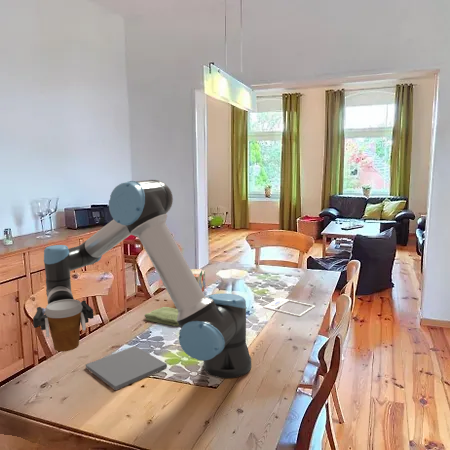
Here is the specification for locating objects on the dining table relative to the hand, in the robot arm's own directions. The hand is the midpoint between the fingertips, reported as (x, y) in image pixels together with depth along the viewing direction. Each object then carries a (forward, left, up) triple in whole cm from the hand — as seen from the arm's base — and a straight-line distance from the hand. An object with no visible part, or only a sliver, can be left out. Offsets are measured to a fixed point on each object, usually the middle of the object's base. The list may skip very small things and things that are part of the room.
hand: (66, 328), depth 105 cm
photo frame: (+1, -100, -22) cm, 102 cm away
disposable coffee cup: (+4, -2, -7) cm, 9 cm away
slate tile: (+6, -21, -21) cm, 30 cm away
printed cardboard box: (+45, -83, -22) cm, 97 cm away
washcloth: (+29, -55, -22) cm, 66 cm away
